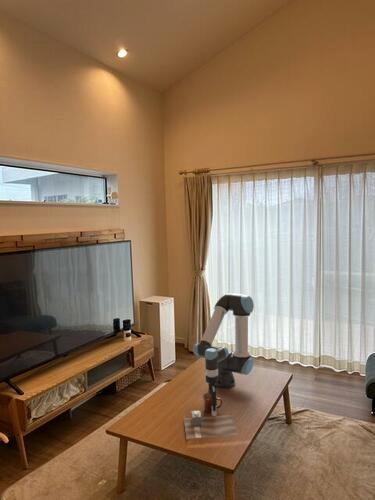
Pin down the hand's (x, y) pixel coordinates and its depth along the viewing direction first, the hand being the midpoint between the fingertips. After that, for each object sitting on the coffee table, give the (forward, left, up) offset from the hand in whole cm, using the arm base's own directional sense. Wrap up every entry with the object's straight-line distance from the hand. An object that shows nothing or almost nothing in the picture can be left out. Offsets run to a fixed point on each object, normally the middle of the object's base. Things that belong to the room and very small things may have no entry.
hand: (212, 411), depth 222 cm
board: (+14, -4, -1) cm, 15 cm away
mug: (-1, 0, -1) cm, 2 cm away
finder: (+11, -11, 0) cm, 15 cm away
